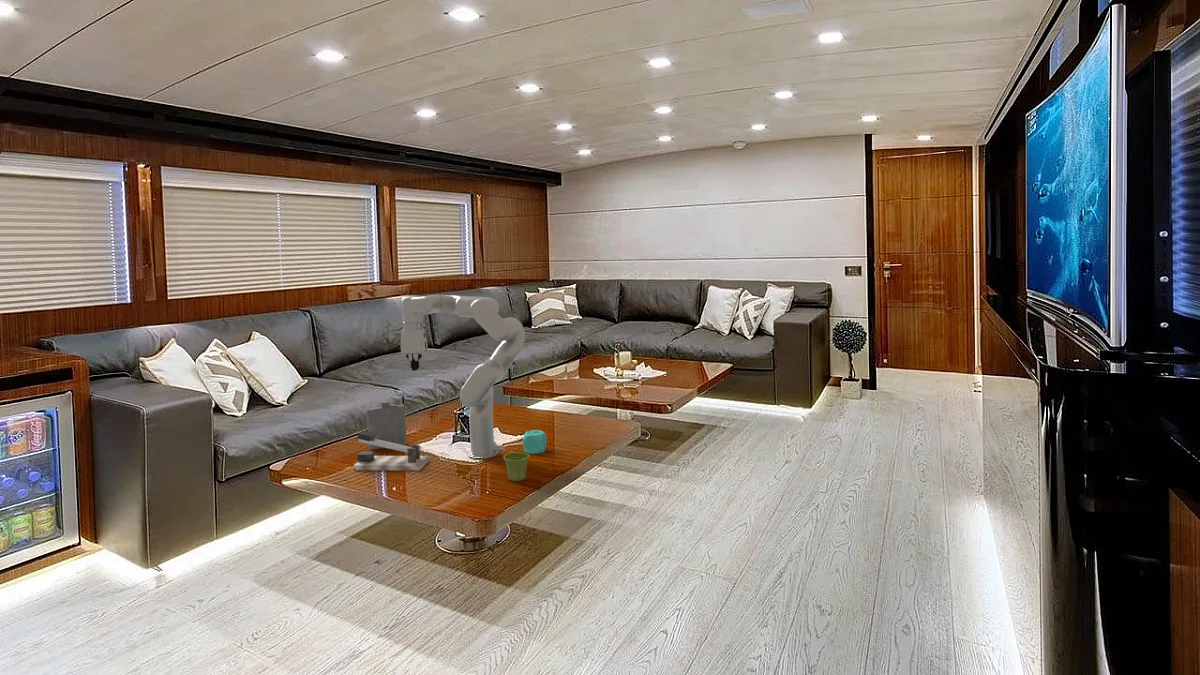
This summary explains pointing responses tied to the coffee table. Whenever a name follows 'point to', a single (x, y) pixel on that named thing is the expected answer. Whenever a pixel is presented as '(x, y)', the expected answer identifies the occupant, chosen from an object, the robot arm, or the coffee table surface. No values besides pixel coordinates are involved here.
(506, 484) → the coffee table surface
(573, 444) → the coffee table surface
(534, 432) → the decorative dice
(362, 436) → the lever
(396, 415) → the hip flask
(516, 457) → the plant pot
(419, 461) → the base
